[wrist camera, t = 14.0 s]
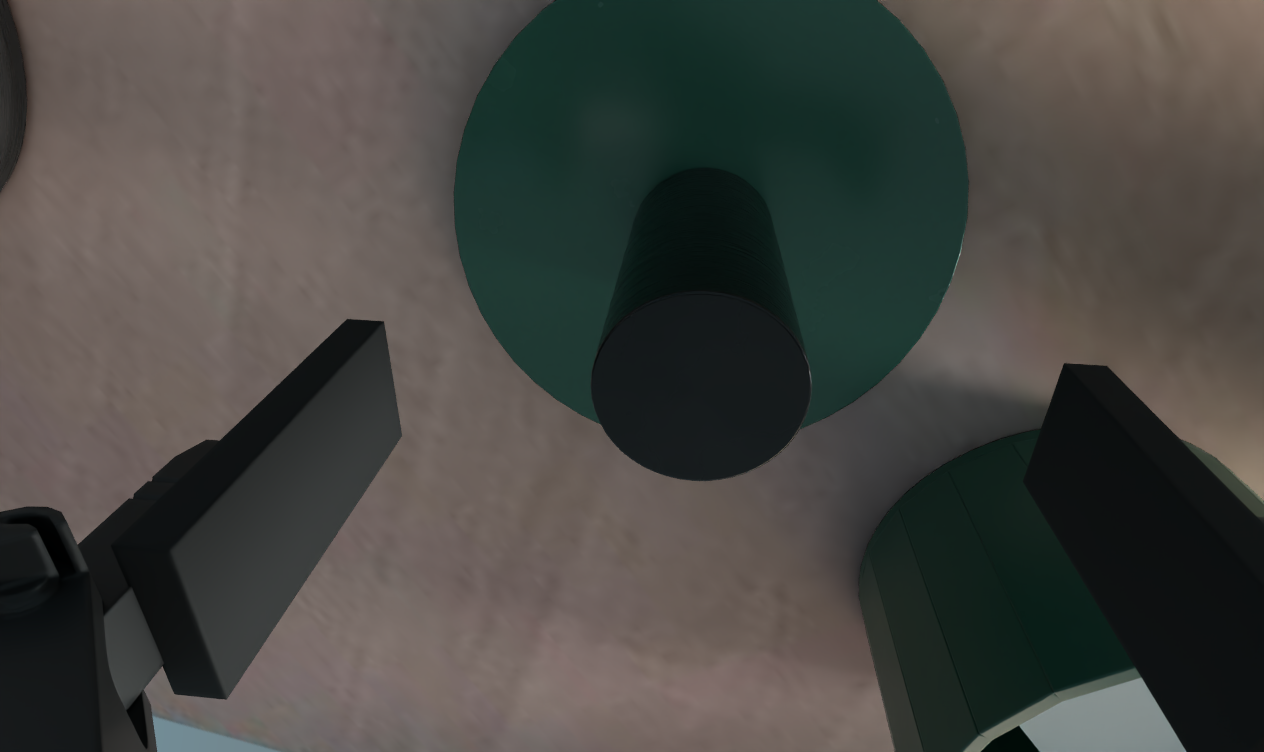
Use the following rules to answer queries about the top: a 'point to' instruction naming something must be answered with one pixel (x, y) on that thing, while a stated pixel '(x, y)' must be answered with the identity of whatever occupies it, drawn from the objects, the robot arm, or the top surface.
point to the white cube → (1105, 723)
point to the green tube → (985, 607)
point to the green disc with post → (710, 215)
